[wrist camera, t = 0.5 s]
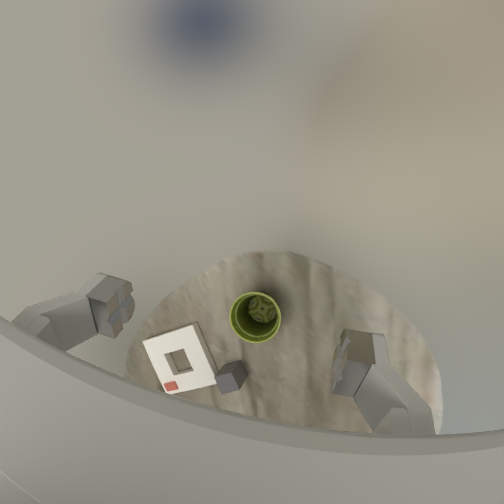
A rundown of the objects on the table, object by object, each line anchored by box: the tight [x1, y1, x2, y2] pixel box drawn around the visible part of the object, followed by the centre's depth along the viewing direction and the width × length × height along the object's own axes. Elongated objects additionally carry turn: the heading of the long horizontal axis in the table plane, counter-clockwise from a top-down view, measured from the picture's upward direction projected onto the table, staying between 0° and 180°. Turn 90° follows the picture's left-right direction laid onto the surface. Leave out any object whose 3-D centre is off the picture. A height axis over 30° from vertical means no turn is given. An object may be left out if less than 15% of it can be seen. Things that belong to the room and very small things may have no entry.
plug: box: [214, 360, 247, 394], centre depth 61 cm, size 4×4×7 cm
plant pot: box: [229, 292, 281, 343], centre depth 58 cm, size 9×9×9 cm
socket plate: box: [142, 322, 218, 394], centre depth 65 cm, size 14×14×3 cm
